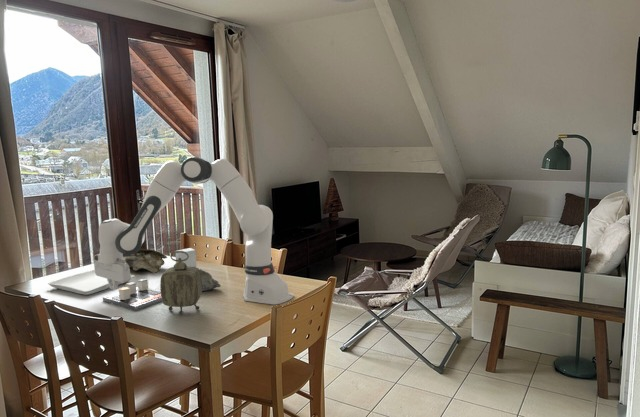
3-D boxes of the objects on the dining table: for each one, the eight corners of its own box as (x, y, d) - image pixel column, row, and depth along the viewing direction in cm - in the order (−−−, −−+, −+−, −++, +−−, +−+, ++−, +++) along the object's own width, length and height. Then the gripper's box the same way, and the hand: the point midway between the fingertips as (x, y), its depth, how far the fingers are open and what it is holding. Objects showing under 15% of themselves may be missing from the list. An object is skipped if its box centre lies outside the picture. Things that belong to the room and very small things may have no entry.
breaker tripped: (130, 298, 203) (129, 288, 202) (123, 300, 200) (123, 290, 199) (125, 296, 204) (125, 287, 204) (119, 298, 202) (118, 288, 201)
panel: (171, 298, 209) (171, 293, 209) (135, 310, 194) (135, 306, 194) (139, 289, 221) (138, 285, 220) (103, 301, 206) (102, 296, 206)
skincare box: (192, 276, 242) (191, 247, 239) (197, 279, 237) (196, 249, 235) (176, 279, 236) (174, 250, 234) (181, 282, 232) (179, 252, 230)
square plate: (47, 290, 223) (46, 282, 222) (98, 275, 247) (98, 268, 246) (86, 299, 210) (85, 290, 210) (136, 282, 234) (135, 274, 234)
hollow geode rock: (122, 275, 262) (104, 260, 251) (133, 255, 269) (116, 240, 259) (161, 279, 250) (144, 264, 239) (172, 259, 257) (156, 242, 246)
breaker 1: (136, 292, 210) (135, 283, 209) (130, 294, 207) (129, 284, 207) (132, 291, 211) (131, 281, 211) (126, 293, 209) (125, 283, 208)
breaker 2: (148, 288, 215) (147, 279, 214) (142, 290, 212) (141, 281, 212) (143, 287, 216) (143, 278, 216) (138, 289, 214) (137, 280, 213)
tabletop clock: (203, 308, 196) (200, 248, 192) (198, 316, 187) (195, 253, 183) (167, 309, 195) (163, 248, 192) (160, 317, 186) (156, 254, 183)
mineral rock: (222, 290, 220) (221, 268, 218) (204, 296, 211) (203, 274, 209) (202, 285, 227) (201, 264, 225) (184, 291, 218) (183, 270, 216)
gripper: (133, 259, 201) (135, 291, 203) (104, 252, 212) (106, 283, 214) (120, 262, 195) (122, 295, 197) (90, 255, 206) (92, 286, 208)
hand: (113, 288), depth 206 cm, fingers closed
